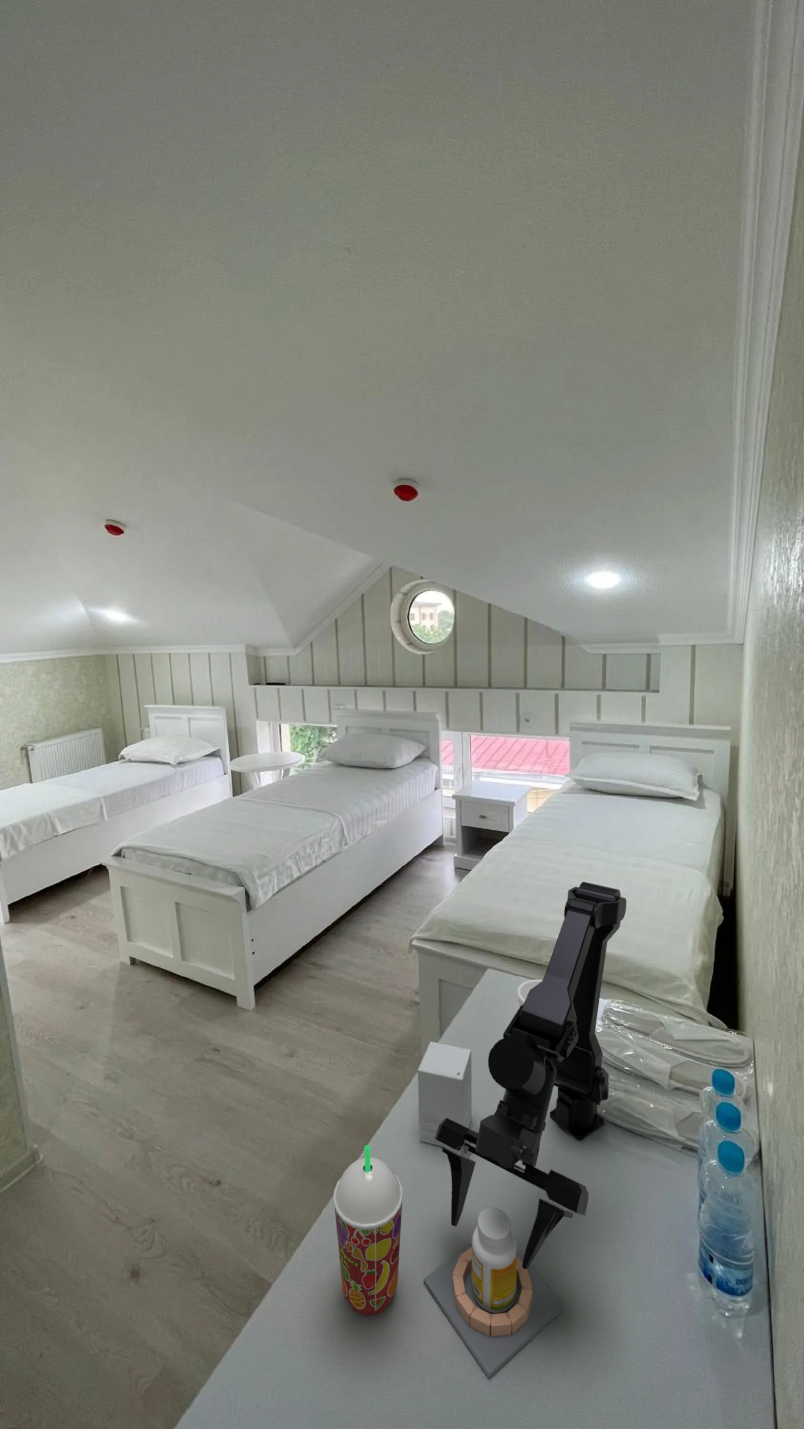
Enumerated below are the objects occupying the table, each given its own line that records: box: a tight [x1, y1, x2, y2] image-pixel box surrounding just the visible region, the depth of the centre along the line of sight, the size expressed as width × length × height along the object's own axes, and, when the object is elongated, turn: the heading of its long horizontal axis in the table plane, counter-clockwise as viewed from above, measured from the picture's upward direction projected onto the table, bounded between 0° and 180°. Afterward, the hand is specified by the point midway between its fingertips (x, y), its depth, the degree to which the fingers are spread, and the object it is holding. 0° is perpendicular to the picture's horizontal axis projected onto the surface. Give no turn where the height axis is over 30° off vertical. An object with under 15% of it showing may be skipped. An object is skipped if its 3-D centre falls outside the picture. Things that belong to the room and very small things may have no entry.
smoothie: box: [332, 1144, 404, 1317], centre depth 74 cm, size 8×8×20 cm
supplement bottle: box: [471, 1206, 518, 1313], centre depth 74 cm, size 5×5×10 cm
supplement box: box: [417, 1041, 473, 1148], centre depth 99 cm, size 7×7×13 cm
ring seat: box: [423, 1242, 564, 1379], centre depth 75 cm, size 12×12×2 cm
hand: (487, 1246), depth 73 cm, fingers open, 9 cm apart
